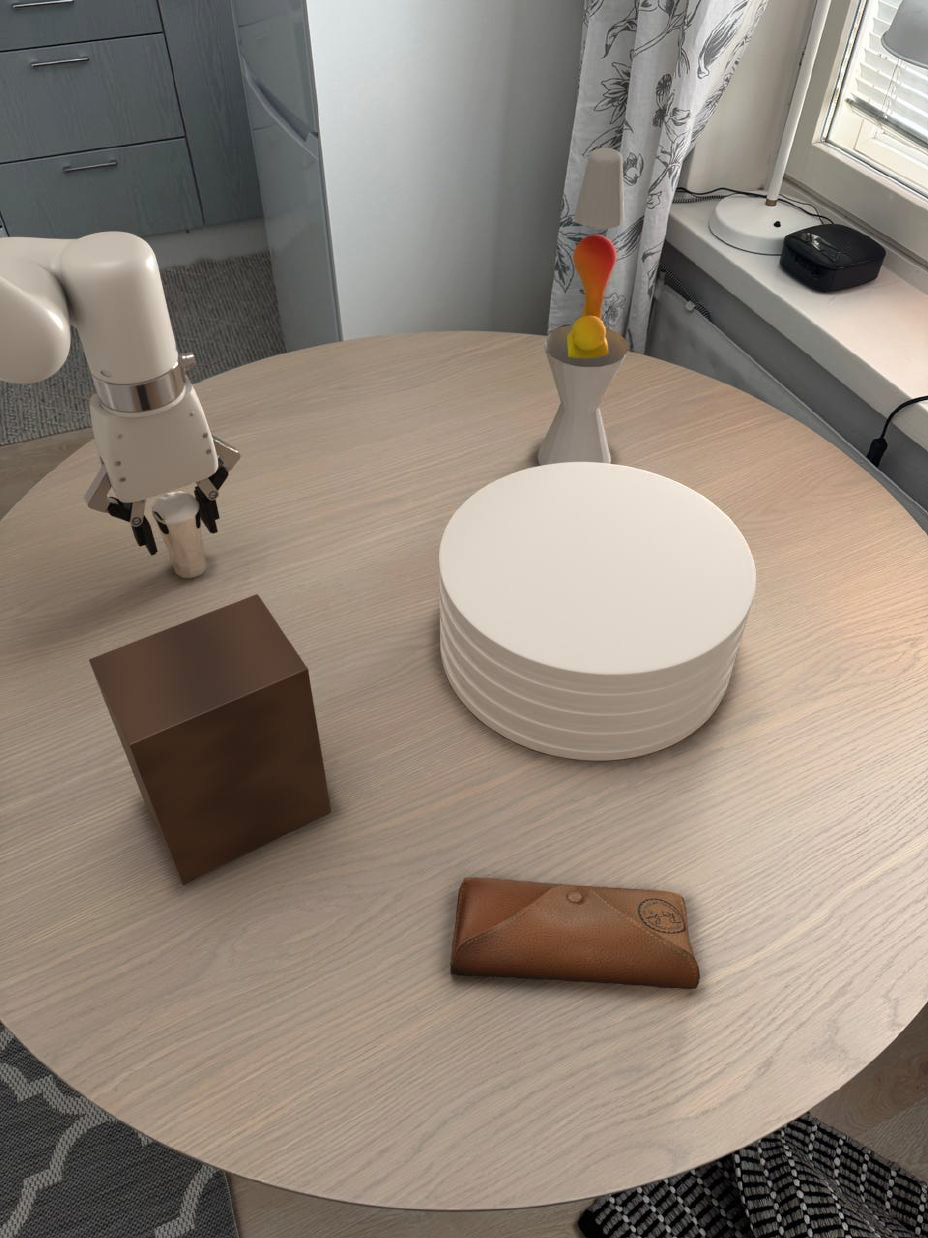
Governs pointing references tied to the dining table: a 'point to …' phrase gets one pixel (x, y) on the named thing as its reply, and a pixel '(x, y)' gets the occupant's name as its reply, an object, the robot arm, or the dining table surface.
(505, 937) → the sunglasses case
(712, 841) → the dining table surface
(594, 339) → the lava lamp
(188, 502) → the milkshake
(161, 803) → the brown box
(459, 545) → the plate stack
